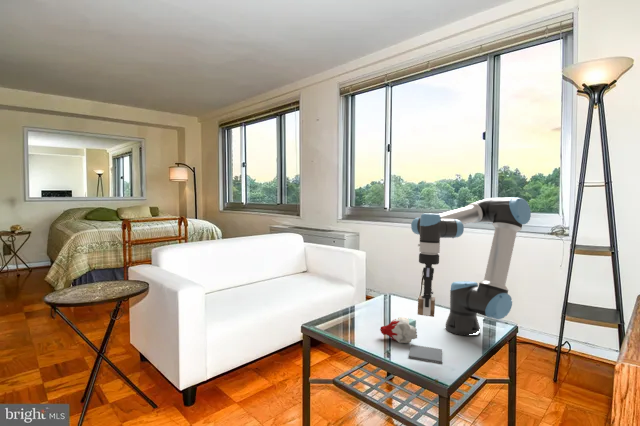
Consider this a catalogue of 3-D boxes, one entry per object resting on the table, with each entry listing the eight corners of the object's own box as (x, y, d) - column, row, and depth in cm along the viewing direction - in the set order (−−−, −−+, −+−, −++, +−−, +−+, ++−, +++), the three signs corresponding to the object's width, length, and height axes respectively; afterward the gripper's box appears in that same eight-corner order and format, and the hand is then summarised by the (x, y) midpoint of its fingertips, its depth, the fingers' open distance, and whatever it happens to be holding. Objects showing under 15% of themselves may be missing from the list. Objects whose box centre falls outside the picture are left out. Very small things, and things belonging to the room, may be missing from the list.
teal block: (415, 328, 164) (415, 320, 164) (409, 331, 160) (409, 322, 160) (408, 326, 167) (408, 318, 167) (401, 329, 163) (401, 320, 163)
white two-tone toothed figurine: (418, 345, 142) (381, 346, 144) (415, 335, 153) (380, 336, 155) (416, 323, 142) (379, 325, 144) (413, 315, 153) (379, 316, 155)
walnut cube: (434, 312, 136) (435, 297, 136) (433, 316, 130) (434, 301, 130) (418, 310, 138) (419, 295, 138) (417, 314, 132) (418, 298, 132)
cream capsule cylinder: (409, 331, 160) (409, 318, 160) (408, 334, 155) (408, 321, 155) (398, 329, 162) (398, 316, 162) (396, 333, 157) (397, 319, 157)
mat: (442, 351, 138) (442, 349, 138) (442, 363, 127) (442, 361, 127) (411, 346, 142) (411, 344, 142) (408, 357, 131) (408, 355, 131)
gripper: (420, 250, 144) (418, 305, 144) (417, 255, 126) (415, 318, 126) (439, 251, 142) (437, 307, 142) (439, 256, 124) (436, 321, 124)
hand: (427, 312), depth 134 cm, fingers closed on walnut cube, 6 cm apart
